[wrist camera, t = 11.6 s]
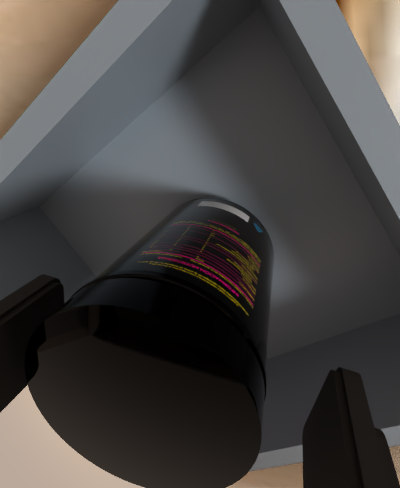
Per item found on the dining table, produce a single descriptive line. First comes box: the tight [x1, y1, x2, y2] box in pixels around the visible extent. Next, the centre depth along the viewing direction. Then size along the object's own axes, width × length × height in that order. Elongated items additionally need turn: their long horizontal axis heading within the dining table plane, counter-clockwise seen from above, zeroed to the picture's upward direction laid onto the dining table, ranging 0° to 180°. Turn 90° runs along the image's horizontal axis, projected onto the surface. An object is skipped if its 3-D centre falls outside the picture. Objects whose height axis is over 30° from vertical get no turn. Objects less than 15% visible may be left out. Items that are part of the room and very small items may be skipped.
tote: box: [0, 0, 400, 472], centre depth 15 cm, size 18×18×7 cm
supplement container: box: [24, 197, 274, 488], centre depth 13 cm, size 7×7×10 cm
